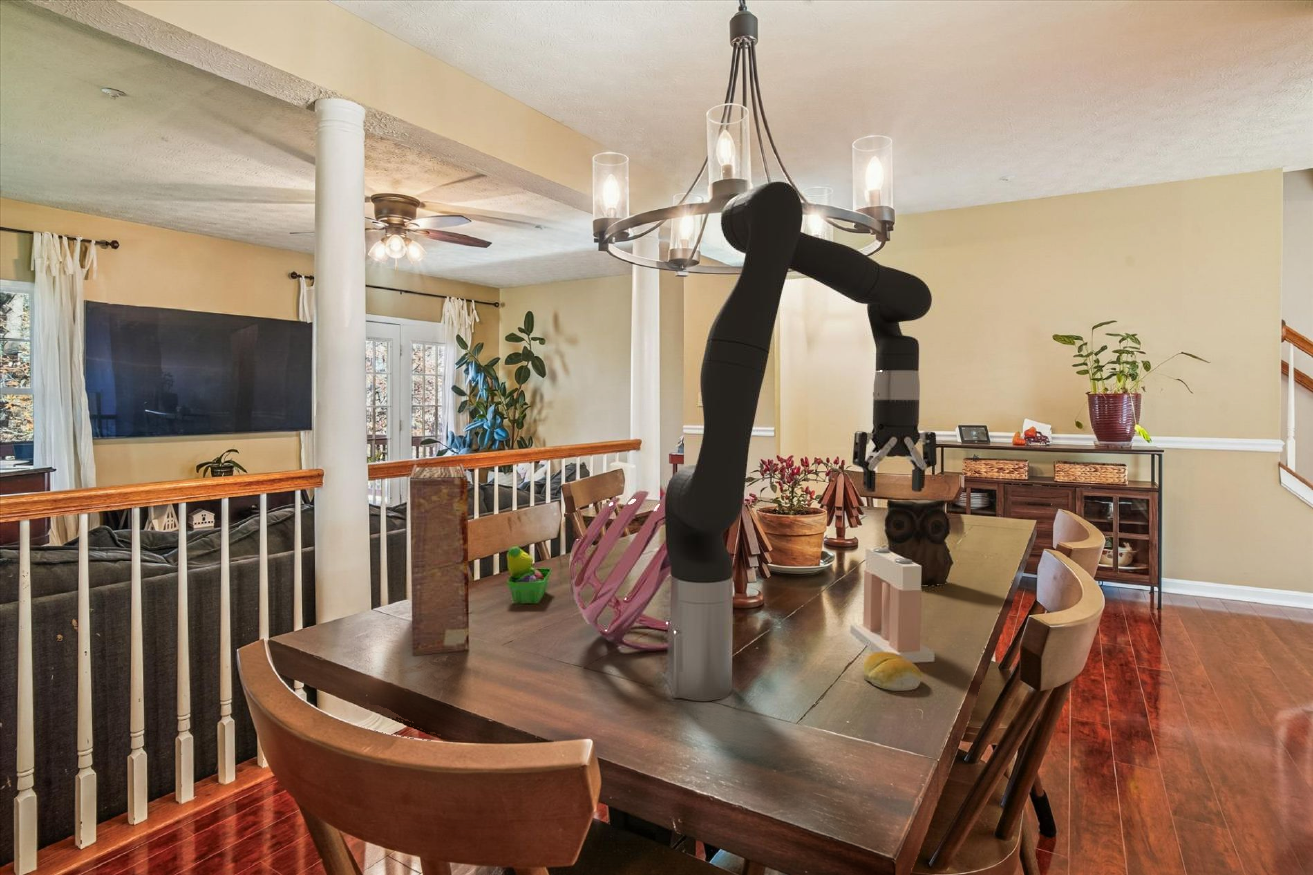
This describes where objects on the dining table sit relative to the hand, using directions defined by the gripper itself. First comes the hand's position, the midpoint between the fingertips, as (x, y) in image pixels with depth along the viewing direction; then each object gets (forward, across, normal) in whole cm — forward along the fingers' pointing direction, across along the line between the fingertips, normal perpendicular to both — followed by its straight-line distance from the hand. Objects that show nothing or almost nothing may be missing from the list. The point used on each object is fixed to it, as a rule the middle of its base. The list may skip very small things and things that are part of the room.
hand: (893, 491), depth 118 cm
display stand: (+27, 0, 0) cm, 27 cm away
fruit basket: (+28, -64, +38) cm, 80 cm away
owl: (+28, +28, +41) cm, 57 cm away
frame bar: (+15, 0, 0) cm, 15 cm away
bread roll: (+28, -6, -14) cm, 32 cm away
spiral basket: (+28, -44, +10) cm, 53 cm away
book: (+28, -80, +19) cm, 86 cm away
